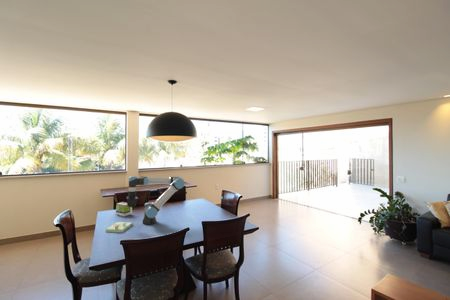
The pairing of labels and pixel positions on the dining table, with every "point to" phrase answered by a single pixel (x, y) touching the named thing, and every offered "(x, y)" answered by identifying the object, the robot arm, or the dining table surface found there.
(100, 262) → the dining table surface
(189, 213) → the dining table surface
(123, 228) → the putting mat
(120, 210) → the tea box
